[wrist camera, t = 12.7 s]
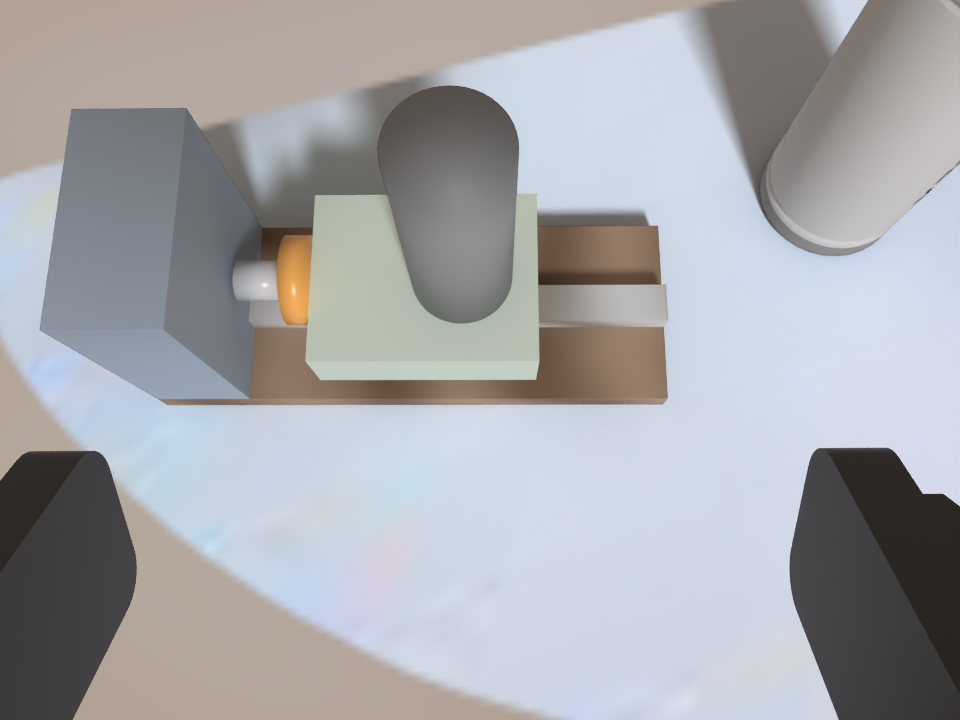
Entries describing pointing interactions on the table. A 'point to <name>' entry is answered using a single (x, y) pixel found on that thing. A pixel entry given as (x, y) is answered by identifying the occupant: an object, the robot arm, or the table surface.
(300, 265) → the button
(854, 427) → the table surface
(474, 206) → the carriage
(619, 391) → the track
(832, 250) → the travel mug
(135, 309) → the end cabinet
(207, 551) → the table surface
